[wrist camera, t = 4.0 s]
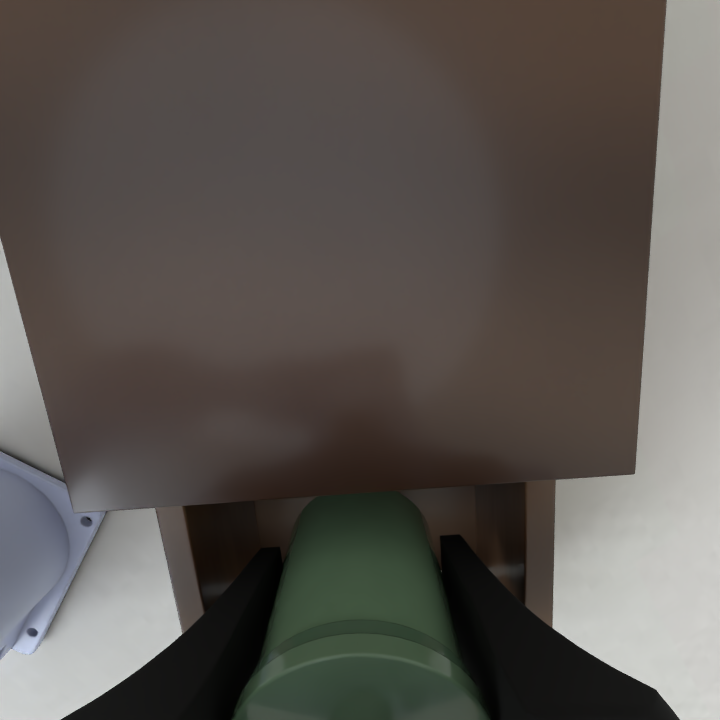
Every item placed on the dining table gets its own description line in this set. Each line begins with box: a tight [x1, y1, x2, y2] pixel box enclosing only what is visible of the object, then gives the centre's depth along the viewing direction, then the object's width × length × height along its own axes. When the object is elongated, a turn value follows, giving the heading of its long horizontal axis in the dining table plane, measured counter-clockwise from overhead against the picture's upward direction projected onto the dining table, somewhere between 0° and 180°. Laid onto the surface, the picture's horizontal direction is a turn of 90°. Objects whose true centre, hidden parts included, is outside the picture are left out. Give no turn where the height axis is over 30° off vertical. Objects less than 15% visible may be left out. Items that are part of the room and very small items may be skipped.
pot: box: [230, 491, 493, 720], centre depth 11 cm, size 5×5×8 cm
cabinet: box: [0, 0, 667, 513], centre depth 13 cm, size 14×13×9 cm
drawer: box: [155, 480, 555, 634], centre depth 15 cm, size 16×12×7 cm
